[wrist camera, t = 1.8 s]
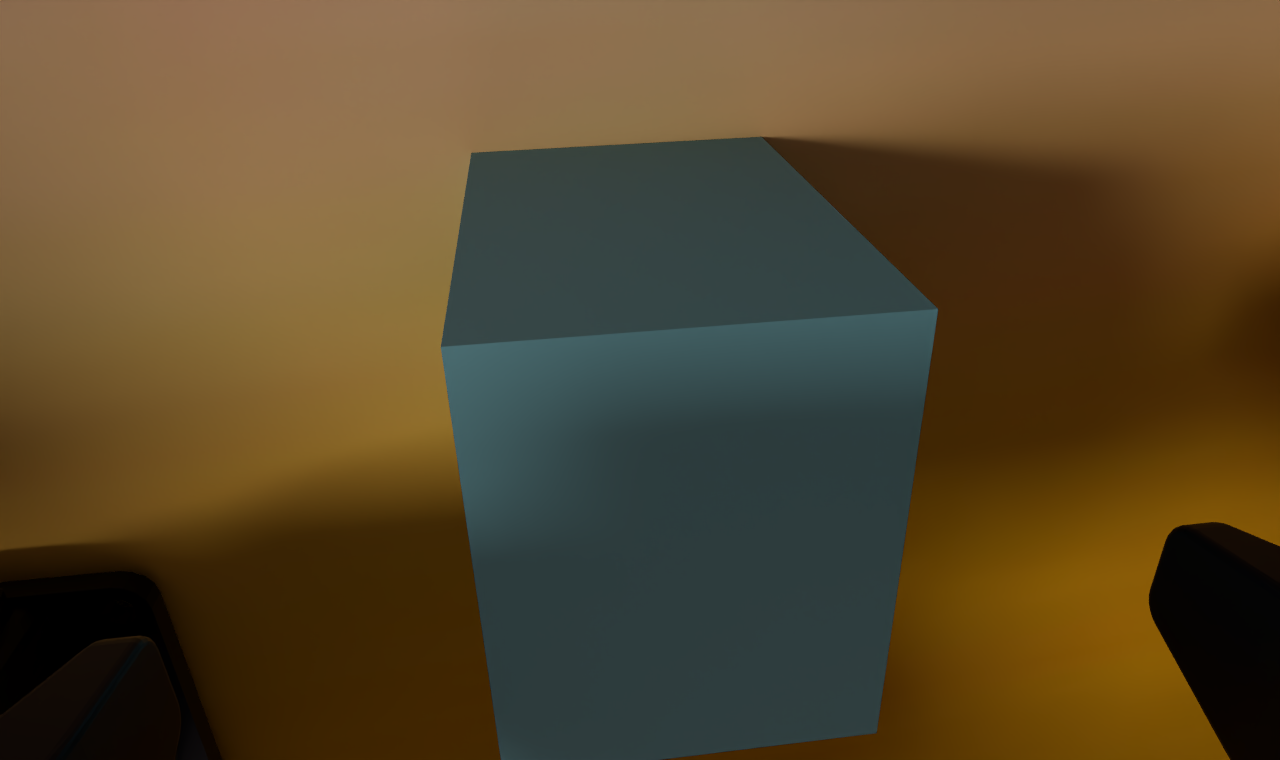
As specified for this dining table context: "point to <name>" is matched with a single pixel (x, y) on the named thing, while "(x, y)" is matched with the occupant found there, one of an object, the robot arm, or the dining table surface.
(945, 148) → the dining table surface
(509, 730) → the teal block
